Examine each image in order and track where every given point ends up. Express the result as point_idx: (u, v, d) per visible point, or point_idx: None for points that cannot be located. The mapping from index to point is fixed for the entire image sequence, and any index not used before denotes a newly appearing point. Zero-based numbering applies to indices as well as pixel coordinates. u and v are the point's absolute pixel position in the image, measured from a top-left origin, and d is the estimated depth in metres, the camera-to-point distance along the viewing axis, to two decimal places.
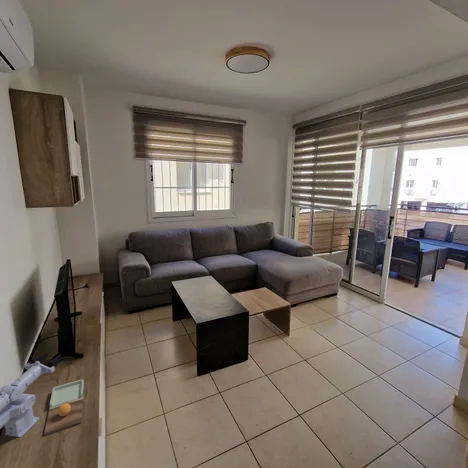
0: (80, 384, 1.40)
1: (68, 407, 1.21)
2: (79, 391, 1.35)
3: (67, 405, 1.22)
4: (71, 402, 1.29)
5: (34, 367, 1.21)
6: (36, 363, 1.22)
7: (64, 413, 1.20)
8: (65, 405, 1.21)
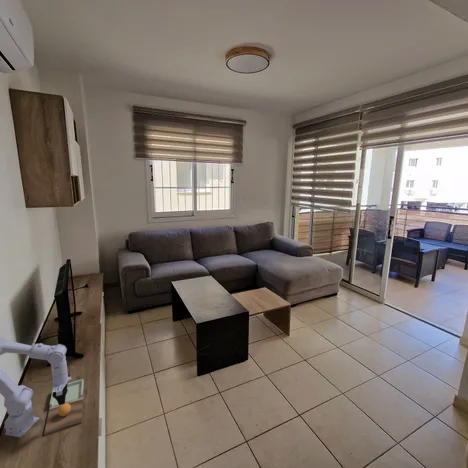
0: (80, 384, 1.40)
1: (68, 407, 1.21)
2: (79, 391, 1.35)
3: (67, 405, 1.22)
4: (71, 402, 1.29)
5: (67, 375, 1.19)
6: (69, 378, 1.20)
7: (64, 413, 1.20)
8: (65, 405, 1.21)
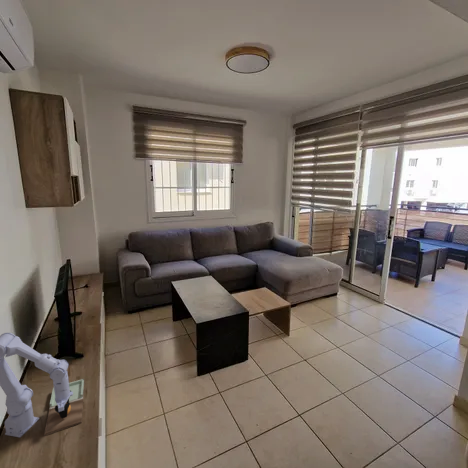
0: (80, 384, 1.40)
1: None
2: (79, 391, 1.35)
3: None
4: (71, 402, 1.29)
5: (69, 391, 1.21)
6: (71, 393, 1.22)
7: None
8: None
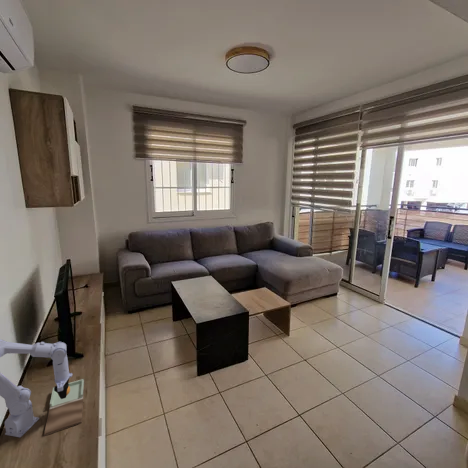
0: (80, 384, 1.40)
1: None
2: (79, 391, 1.35)
3: None
4: (71, 402, 1.29)
5: (68, 372, 1.23)
6: (70, 374, 1.24)
7: None
8: None
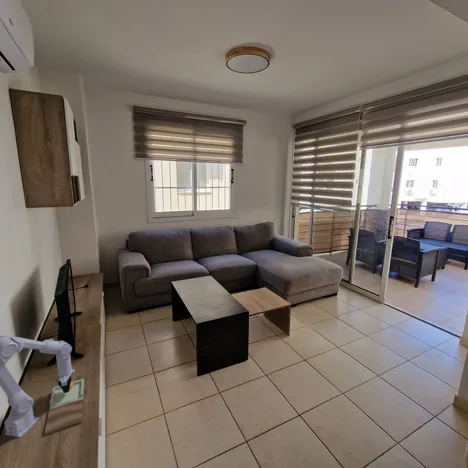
0: (80, 384, 1.40)
1: (70, 383, 1.32)
2: (79, 391, 1.35)
3: None
4: (71, 402, 1.29)
5: (71, 368, 1.32)
6: (73, 370, 1.33)
7: None
8: None
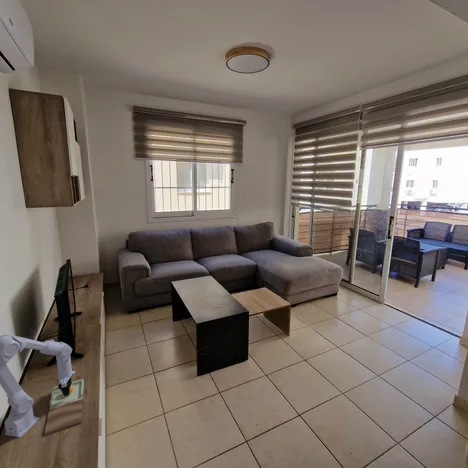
0: (80, 384, 1.40)
1: (71, 387, 1.33)
2: (79, 391, 1.35)
3: None
4: (71, 402, 1.29)
5: (71, 369, 1.32)
6: (73, 371, 1.33)
7: None
8: None
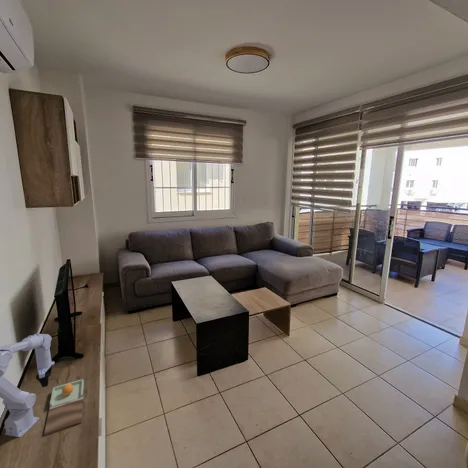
0: (80, 384, 1.40)
1: (71, 387, 1.33)
2: (79, 391, 1.35)
3: (70, 385, 1.33)
4: (71, 402, 1.29)
5: (50, 360, 1.30)
6: (52, 362, 1.31)
7: (67, 392, 1.31)
8: (68, 385, 1.33)
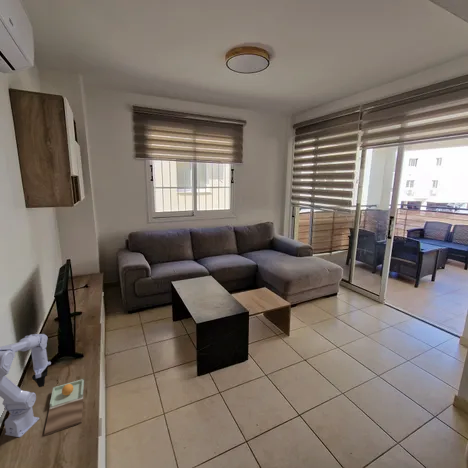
0: (80, 384, 1.40)
1: (71, 387, 1.33)
2: (79, 391, 1.35)
3: (70, 385, 1.33)
4: (71, 402, 1.29)
5: (46, 360, 1.30)
6: (48, 362, 1.31)
7: (67, 392, 1.31)
8: (68, 385, 1.33)
